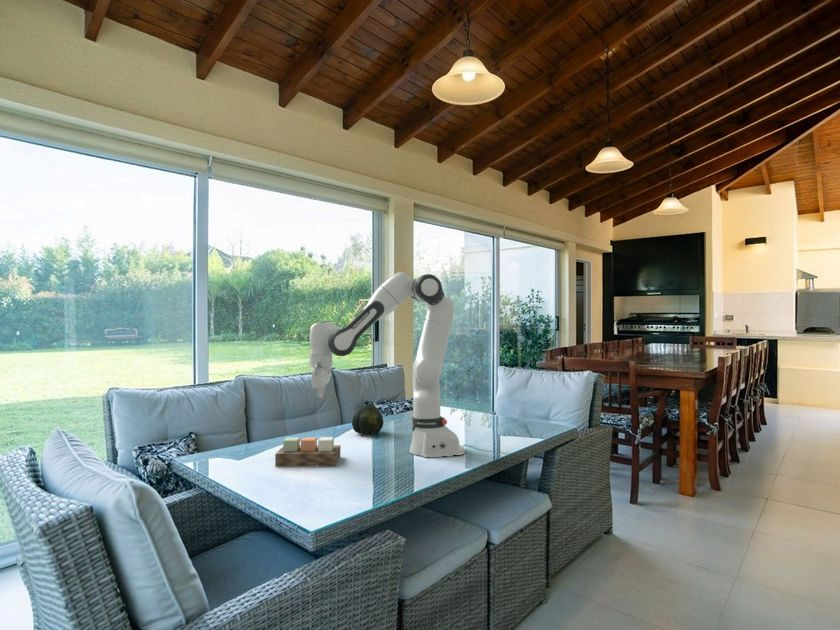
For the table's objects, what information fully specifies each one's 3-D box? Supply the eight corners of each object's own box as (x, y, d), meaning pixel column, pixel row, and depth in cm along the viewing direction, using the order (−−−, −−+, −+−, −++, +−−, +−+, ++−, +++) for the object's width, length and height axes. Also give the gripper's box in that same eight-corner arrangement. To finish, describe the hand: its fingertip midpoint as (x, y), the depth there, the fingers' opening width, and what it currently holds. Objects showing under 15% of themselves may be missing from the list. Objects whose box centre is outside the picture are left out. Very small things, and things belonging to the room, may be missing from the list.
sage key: (299, 450, 188) (299, 437, 188) (296, 453, 183) (296, 440, 183) (286, 450, 188) (286, 437, 188) (283, 454, 183) (283, 440, 183)
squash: (348, 426, 221) (369, 400, 224) (345, 421, 236) (365, 397, 239) (371, 446, 223) (392, 420, 226) (367, 440, 238) (387, 415, 241)
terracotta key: (316, 450, 188) (316, 437, 188) (314, 453, 183) (314, 440, 183) (303, 450, 188) (303, 437, 188) (300, 453, 183) (300, 440, 183)
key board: (340, 456, 192) (340, 445, 192) (335, 465, 180) (335, 453, 180) (283, 457, 192) (284, 445, 192) (275, 466, 180) (275, 453, 180)
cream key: (333, 450, 188) (333, 437, 188) (331, 453, 183) (331, 440, 183) (320, 450, 188) (320, 437, 188) (318, 453, 183) (318, 440, 183)
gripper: (324, 364, 184) (324, 401, 184) (333, 359, 204) (333, 393, 204) (307, 364, 184) (307, 401, 184) (317, 360, 204) (317, 393, 204)
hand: (321, 396), depth 194 cm, fingers closed
